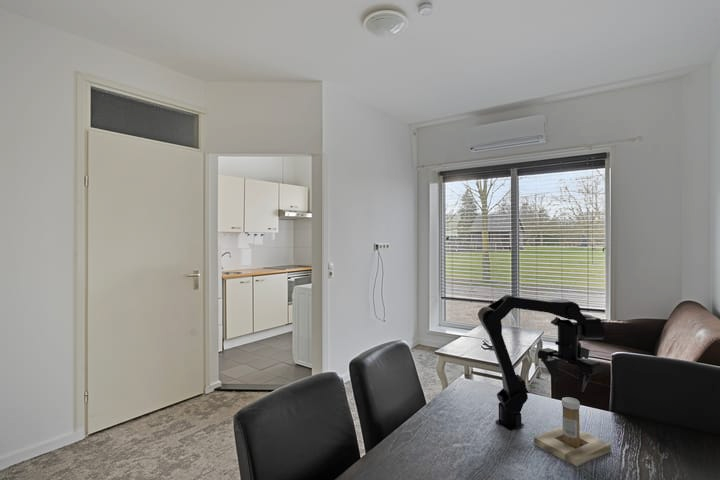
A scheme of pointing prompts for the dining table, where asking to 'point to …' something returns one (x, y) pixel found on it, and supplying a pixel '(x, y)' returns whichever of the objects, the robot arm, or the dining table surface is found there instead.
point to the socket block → (576, 457)
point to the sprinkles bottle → (571, 422)
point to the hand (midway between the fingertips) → (568, 386)
